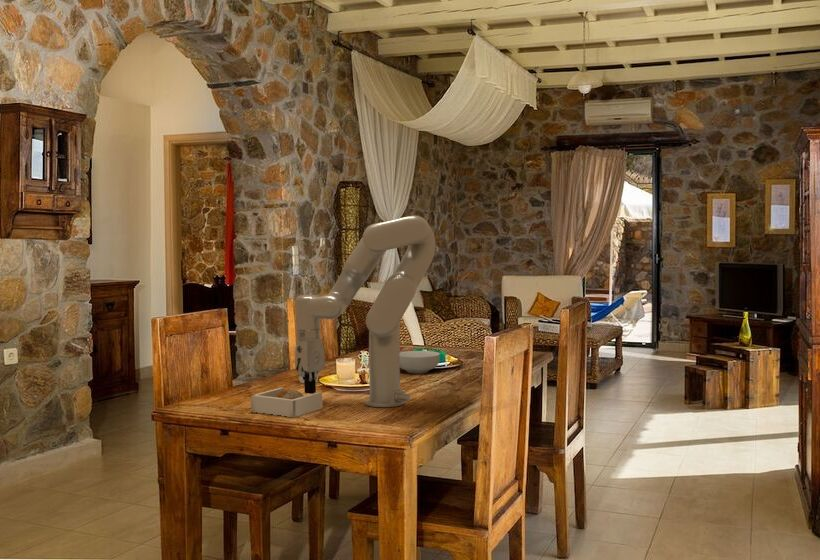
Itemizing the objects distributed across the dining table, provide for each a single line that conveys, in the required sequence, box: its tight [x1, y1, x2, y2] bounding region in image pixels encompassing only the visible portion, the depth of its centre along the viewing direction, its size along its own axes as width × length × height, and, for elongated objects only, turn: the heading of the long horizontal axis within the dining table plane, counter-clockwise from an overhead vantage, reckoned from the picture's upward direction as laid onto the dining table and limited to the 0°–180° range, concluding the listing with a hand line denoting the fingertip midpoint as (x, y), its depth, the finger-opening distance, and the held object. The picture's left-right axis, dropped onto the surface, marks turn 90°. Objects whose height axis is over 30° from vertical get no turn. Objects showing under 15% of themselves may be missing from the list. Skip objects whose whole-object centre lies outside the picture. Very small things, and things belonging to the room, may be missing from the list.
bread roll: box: [275, 388, 304, 400], centre depth 254 cm, size 10×10×8 cm
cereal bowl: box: [400, 350, 441, 374], centre depth 317 cm, size 17×17×7 cm
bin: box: [250, 387, 323, 419], centre depth 253 cm, size 16×14×5 cm
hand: (310, 392), depth 262 cm, fingers closed
